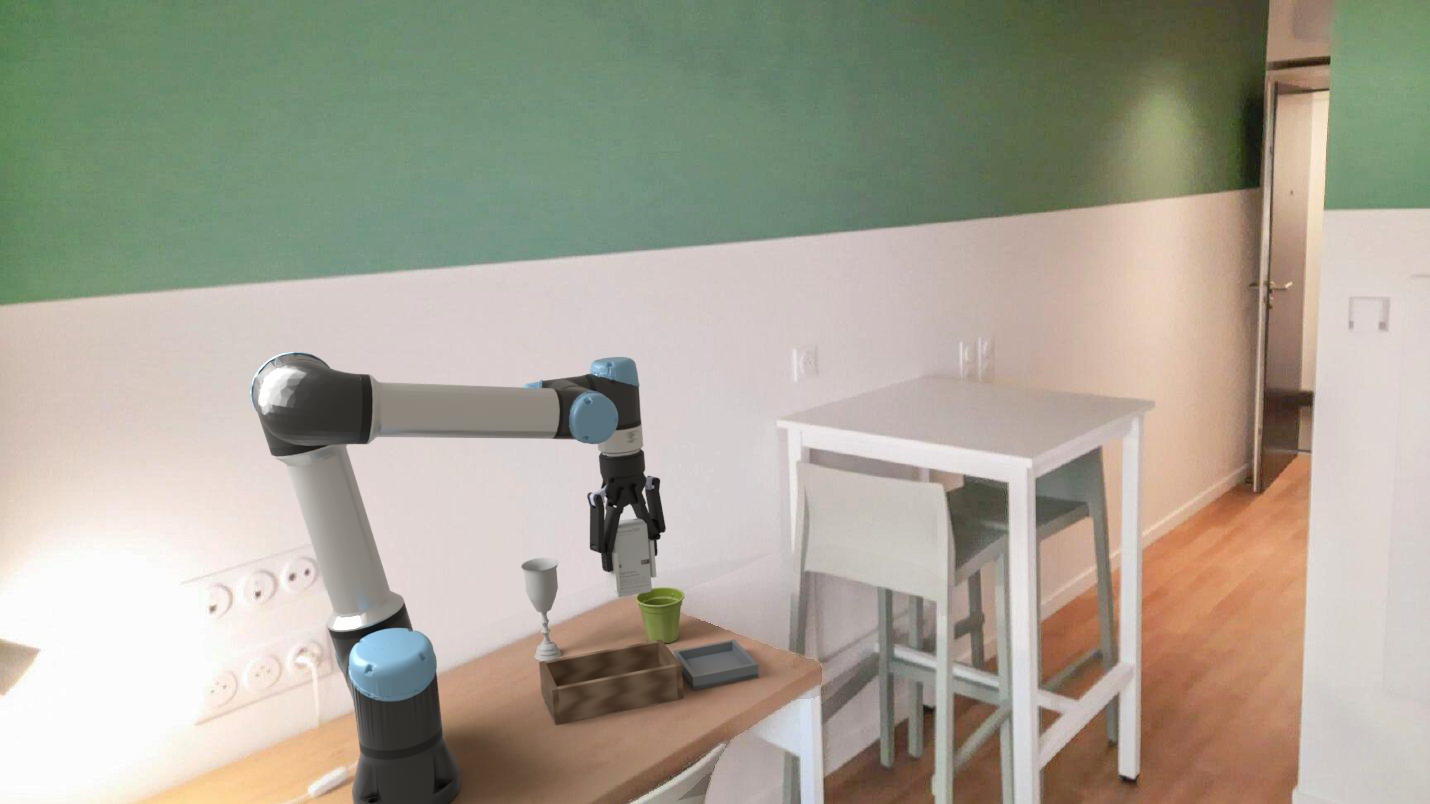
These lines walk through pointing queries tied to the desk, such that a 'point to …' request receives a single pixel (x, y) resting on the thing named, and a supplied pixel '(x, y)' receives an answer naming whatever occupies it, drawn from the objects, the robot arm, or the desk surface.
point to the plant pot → (661, 613)
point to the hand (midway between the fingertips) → (632, 581)
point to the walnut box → (610, 681)
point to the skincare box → (633, 557)
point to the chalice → (542, 599)
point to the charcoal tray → (716, 664)
